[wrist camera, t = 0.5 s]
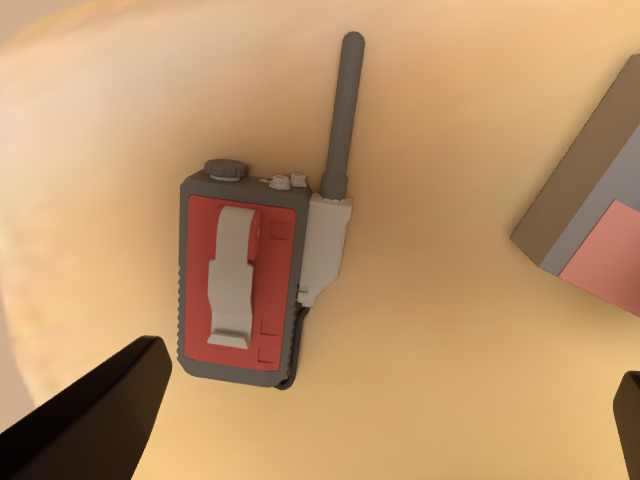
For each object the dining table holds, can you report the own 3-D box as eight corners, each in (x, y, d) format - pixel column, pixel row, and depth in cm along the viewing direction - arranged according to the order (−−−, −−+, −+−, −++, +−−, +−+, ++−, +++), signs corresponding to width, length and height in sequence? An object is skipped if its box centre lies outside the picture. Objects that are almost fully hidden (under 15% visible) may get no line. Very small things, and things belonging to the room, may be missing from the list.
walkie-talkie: (324, 379, 28) (377, 37, 22) (319, 430, 24) (382, 26, 18) (189, 358, 29) (199, 14, 22) (160, 405, 25) (162, -2, 18)
